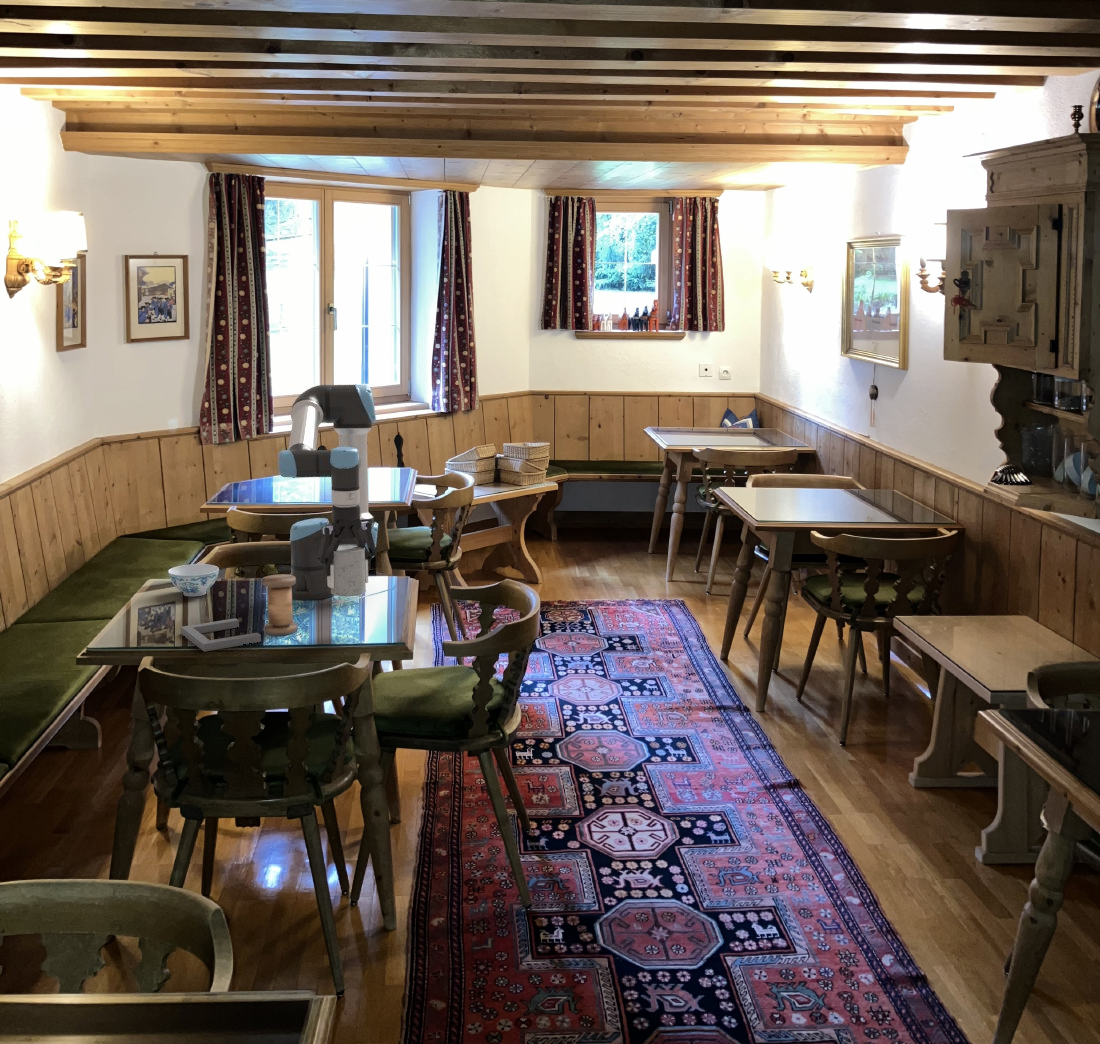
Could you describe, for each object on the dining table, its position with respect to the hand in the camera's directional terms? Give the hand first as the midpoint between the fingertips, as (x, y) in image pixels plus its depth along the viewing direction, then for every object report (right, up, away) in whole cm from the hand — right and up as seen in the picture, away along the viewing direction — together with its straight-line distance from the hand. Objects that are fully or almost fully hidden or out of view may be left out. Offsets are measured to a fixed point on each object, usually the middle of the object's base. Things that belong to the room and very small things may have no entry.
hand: (348, 584), depth 319 cm
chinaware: (-55, -5, +41) cm, 69 cm away
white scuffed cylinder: (0, -2, 0) cm, 2 cm away
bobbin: (-19, -13, +3) cm, 24 cm away
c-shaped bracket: (-34, -14, -4) cm, 37 cm away
